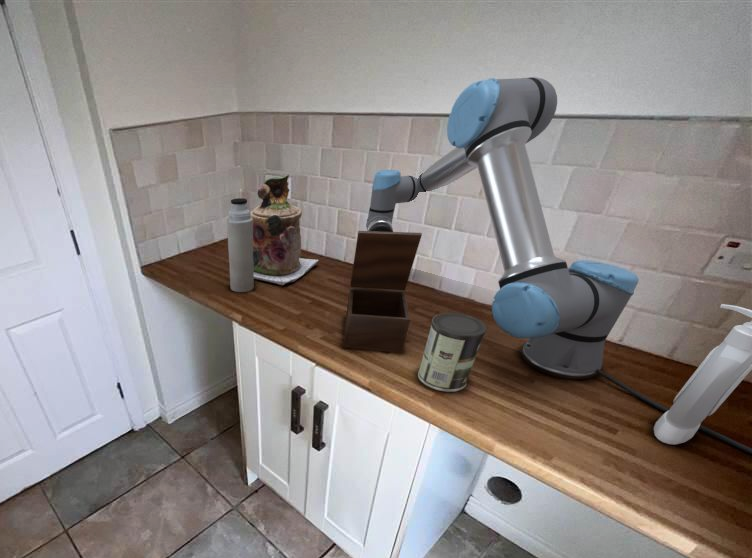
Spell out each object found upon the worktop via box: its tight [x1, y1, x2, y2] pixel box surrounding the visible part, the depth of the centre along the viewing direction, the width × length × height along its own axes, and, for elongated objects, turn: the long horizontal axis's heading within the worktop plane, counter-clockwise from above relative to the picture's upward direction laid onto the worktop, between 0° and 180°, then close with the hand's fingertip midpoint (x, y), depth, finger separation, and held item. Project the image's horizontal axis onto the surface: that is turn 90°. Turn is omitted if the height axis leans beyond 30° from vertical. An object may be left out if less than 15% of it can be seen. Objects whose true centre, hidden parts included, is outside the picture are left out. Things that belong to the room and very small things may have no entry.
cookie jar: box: [250, 174, 319, 286], centre depth 140 cm, size 25×25×32 cm
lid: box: [349, 230, 423, 291], centre depth 102 cm, size 18×14×1 cm
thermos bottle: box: [226, 197, 255, 293], centre depth 129 cm, size 8×8×28 cm
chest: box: [343, 287, 411, 354], centre depth 106 cm, size 17×14×9 cm
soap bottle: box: [653, 303, 752, 445], centre depth 69 cm, size 13×8×24 cm, turn 124°
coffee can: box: [417, 312, 488, 393], centre depth 88 cm, size 10×10×14 cm
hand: (382, 261), depth 103 cm, fingers closed
